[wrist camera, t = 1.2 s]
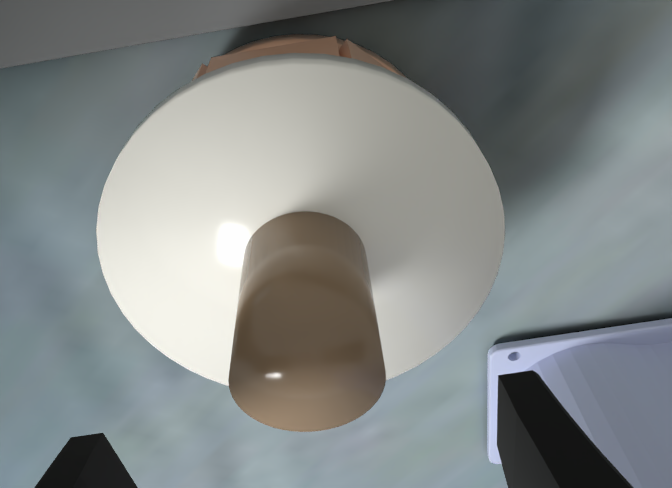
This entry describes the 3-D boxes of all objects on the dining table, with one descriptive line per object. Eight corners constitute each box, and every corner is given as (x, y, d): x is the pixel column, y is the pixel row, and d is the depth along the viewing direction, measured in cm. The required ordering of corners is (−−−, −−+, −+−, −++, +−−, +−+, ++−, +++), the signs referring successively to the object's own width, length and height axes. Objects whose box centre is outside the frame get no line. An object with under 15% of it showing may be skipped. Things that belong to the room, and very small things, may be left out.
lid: (499, 15, 12) (591, 99, 9) (494, 350, 18) (547, 489, 15) (32, 95, 13) (-81, 209, 9) (177, 397, 19) (146, 543, 15)
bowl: (432, 8, 16) (467, 53, 13) (445, 261, 21) (472, 338, 18) (119, 62, 17) (76, 119, 13) (207, 297, 22) (191, 379, 18)
